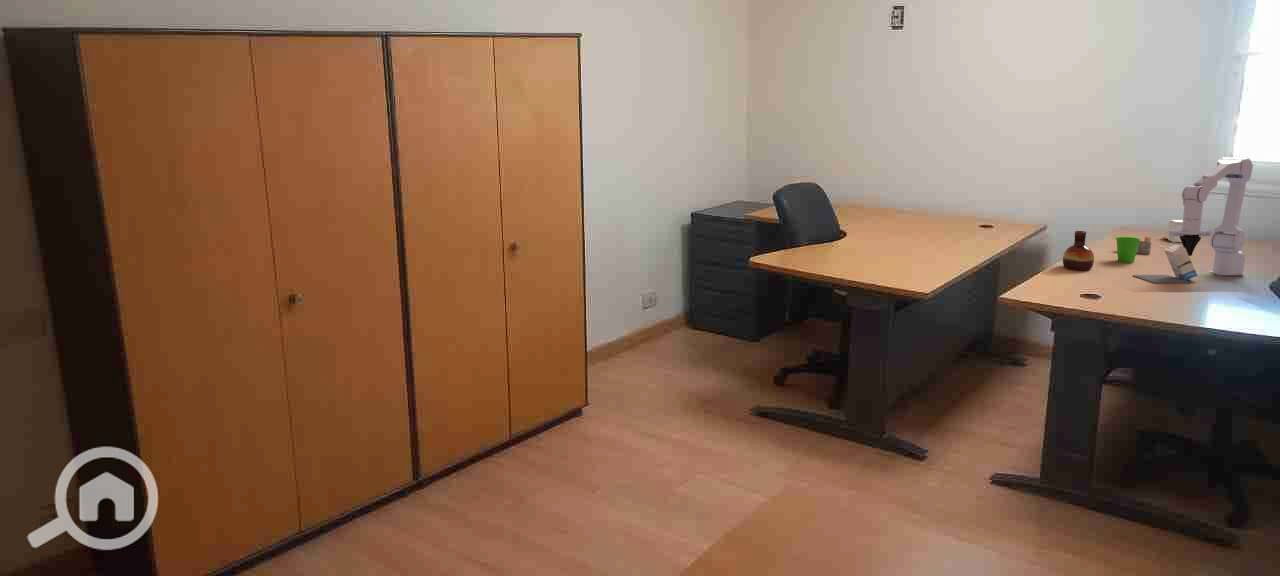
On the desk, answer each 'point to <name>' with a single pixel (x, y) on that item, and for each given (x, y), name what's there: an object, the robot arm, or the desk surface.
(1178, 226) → the supplement box
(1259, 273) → the desk surface
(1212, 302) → the desk surface
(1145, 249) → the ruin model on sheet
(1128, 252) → the cup
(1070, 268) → the vase
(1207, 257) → the desk surface
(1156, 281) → the mat
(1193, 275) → the ink box
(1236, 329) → the desk surface
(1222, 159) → the robot arm
